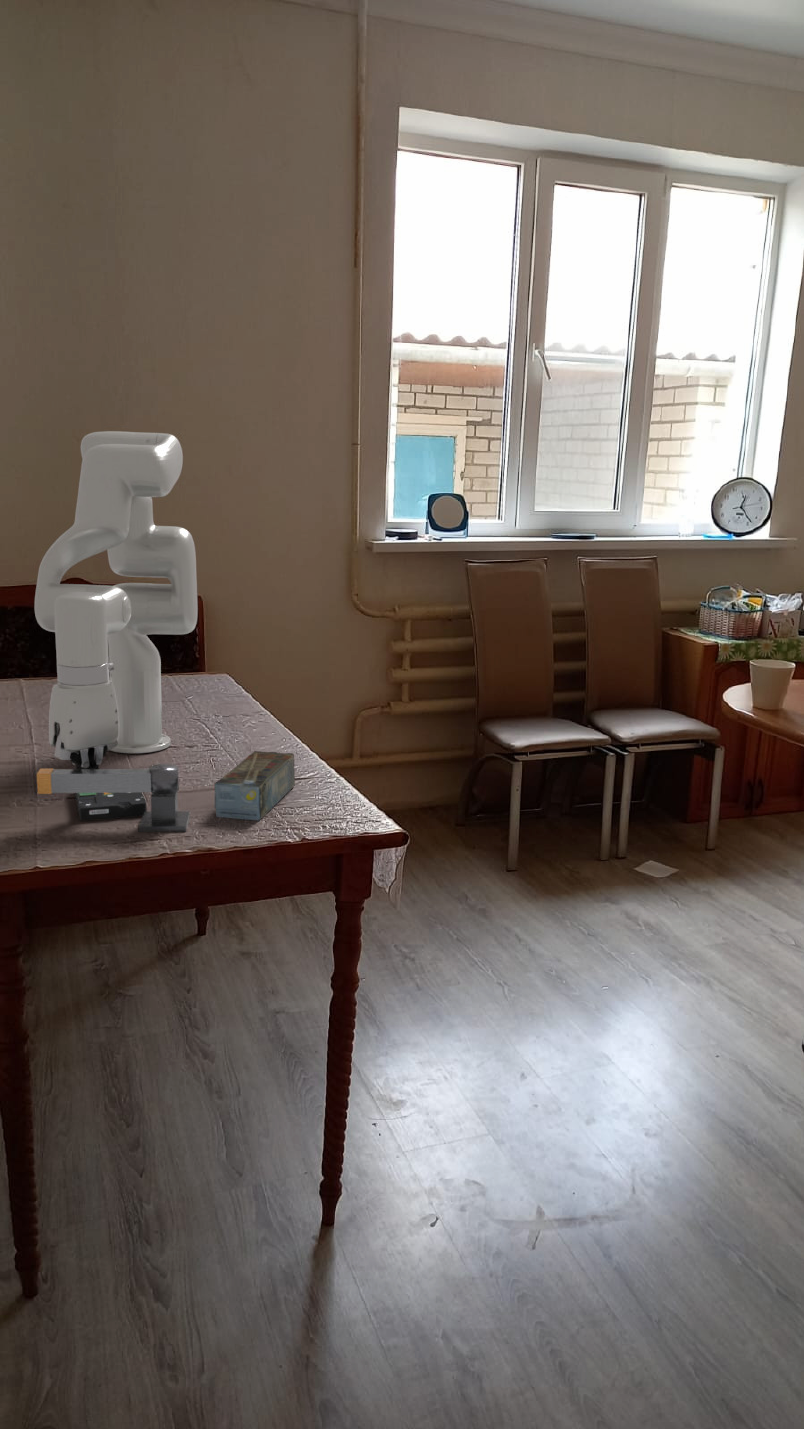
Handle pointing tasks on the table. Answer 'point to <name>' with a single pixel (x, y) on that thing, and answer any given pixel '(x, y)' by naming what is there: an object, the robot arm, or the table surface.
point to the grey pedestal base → (164, 815)
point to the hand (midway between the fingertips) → (88, 789)
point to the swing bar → (109, 780)
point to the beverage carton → (255, 785)
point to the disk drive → (110, 805)
